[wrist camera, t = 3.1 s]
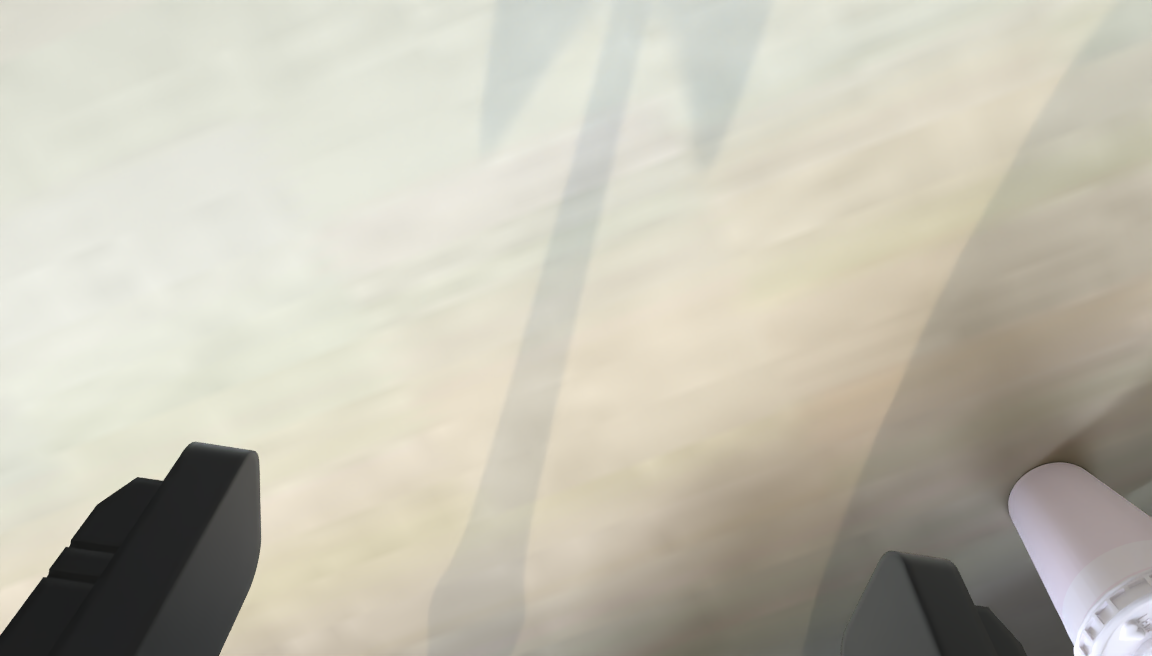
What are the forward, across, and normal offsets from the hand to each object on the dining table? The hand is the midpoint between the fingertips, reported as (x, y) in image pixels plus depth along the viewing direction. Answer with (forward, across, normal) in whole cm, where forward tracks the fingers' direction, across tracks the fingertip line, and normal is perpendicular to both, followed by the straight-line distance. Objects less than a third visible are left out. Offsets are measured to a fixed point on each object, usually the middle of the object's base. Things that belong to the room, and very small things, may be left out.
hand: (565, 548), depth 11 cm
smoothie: (+21, -23, +14) cm, 33 cm away
